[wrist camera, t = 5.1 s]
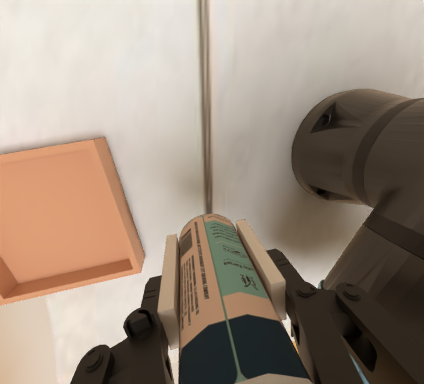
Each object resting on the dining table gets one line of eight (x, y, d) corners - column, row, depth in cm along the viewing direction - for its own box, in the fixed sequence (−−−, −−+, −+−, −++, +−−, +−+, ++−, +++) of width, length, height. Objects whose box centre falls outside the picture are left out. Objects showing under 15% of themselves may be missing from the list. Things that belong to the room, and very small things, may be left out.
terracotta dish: (105, 137, 23) (92, 139, 20) (145, 256, 30) (141, 272, 26) (-59, 164, 22) (-101, 171, 18) (21, 284, 28) (0, 305, 25)
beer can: (186, 266, 17) (196, 537, 6) (172, 218, 15) (150, 472, 4) (238, 252, 17) (342, 483, 6) (231, 205, 16) (354, 405, 5)
